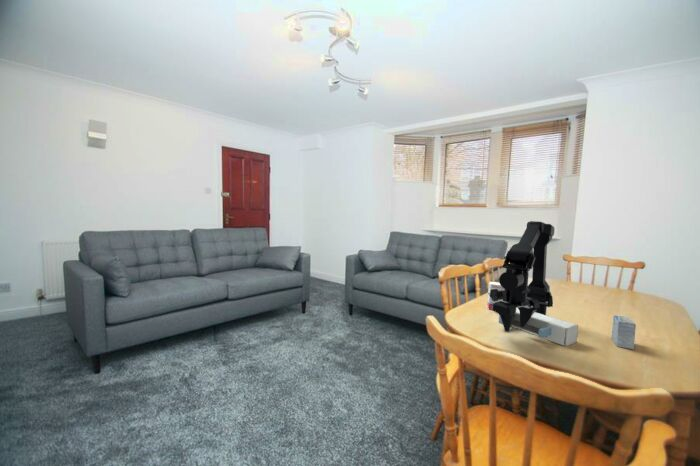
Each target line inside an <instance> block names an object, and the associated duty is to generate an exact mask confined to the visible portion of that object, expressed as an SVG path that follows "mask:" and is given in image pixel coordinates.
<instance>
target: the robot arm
mask: <svg viewBox="0 0 700 466" xmlns="http://www.w3.org/2000/svg"><path fill="white" fill-rule="evenodd" d="M554 235H555V227H554V226H553V225H552V224H551V223H545V222H542V221H539V220H538V221H534V220H530V221H527V223H526V229H525V230H524V232H523V234H522V236H521V238H520V239H519V242H518V243H515V244H513V245H512V246H511V247H510V249H509V250H507V252H506V256H505V258H504V261H503V264H502V268H503V269H505V270H506V271H505V272H502V273H501V274H500V275H499V278H498V282H499V283H500V285H501V286H502V287H503V288H504V289H505V290H501V291H498V289H492V290H490V297H491V298H492V299H493V301H496V300H502V299H503V301H505V302H503V301H500V302H495V303H494V304H493V307H492V310H491V311H494V312H495V313H497V314H498V316H499V315H500V317H501V319H502V322H503V323H502V325H503V329H504V331H505V332H507V333H509V332H510V331H511V328H512V323H513V321H514V319H515V316H516V315H515V312H516V308H518V309H519V311H520V326H521V327H525V325H526V324H527V322H528V321H529V319H530V318H531V316H532V315H533V314H534V312H536V313H540V314H543V315H546V316H547V311H548V310H547V308H553V307H554V306H553V304H554V297H553V296H552V292H551V288H550V285H549V284H548V282H547V279H546V275H547V253H548V252H547V251H548V245H549V243H550V242H551V241H552V240H553V237H554ZM530 270H532V277H531V280H532V281H531V282H530V283H529V275H530V273H529V272H530ZM506 302H508V303H506Z"/></svg>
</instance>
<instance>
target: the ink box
mask: <svg viewBox="0 0 700 466" xmlns="http://www.w3.org/2000/svg"><path fill="white" fill-rule="evenodd" d="M487 288H488V291H487V306H488V307H487V309H488V308H489V309H488V310H491V309H492V307H493V304H494V303H495V302H500V301H503V299H502V300H496V301H493V299H492V298H491V297H490V290H492V289H498V291H501V290H505V289H504V288H503V287H502V286H501V285H500V283H499V281H489V282H488V287H487ZM503 302H505V301H503ZM506 303H508V302H506Z"/></svg>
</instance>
